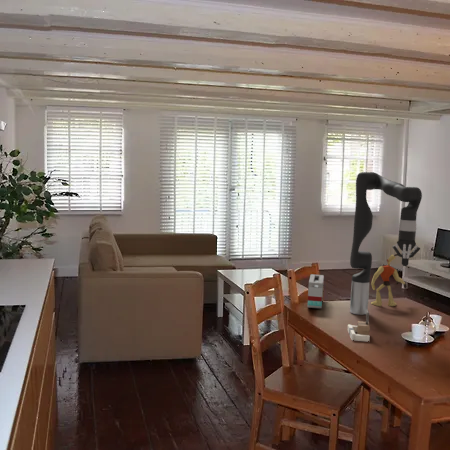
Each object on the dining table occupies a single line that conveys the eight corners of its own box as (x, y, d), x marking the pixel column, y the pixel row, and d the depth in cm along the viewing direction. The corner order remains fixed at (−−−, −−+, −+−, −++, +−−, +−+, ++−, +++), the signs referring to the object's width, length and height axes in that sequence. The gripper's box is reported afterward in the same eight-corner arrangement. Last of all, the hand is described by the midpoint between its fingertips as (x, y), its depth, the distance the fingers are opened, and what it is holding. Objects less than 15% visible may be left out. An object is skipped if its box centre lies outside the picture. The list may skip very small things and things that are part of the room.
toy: (403, 302, 316) (407, 251, 312) (410, 306, 307) (414, 254, 304) (366, 302, 312) (369, 251, 308) (372, 306, 303) (376, 254, 300)
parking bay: (347, 330, 257) (347, 323, 257) (364, 331, 257) (364, 324, 256) (351, 340, 243) (352, 333, 242) (369, 341, 242) (369, 334, 242)
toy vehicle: (323, 297, 320) (324, 272, 319) (321, 310, 291) (323, 283, 289) (309, 296, 322) (310, 271, 320) (306, 309, 292) (308, 282, 291)
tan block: (356, 333, 253) (358, 309, 252) (367, 334, 252) (369, 309, 251) (357, 338, 247) (359, 312, 245) (368, 339, 246) (370, 313, 244)
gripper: (419, 229, 256) (417, 265, 258) (391, 228, 257) (388, 263, 259) (424, 231, 249) (421, 268, 251) (394, 229, 250) (392, 266, 252)
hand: (404, 265), depth 255 cm, fingers closed
